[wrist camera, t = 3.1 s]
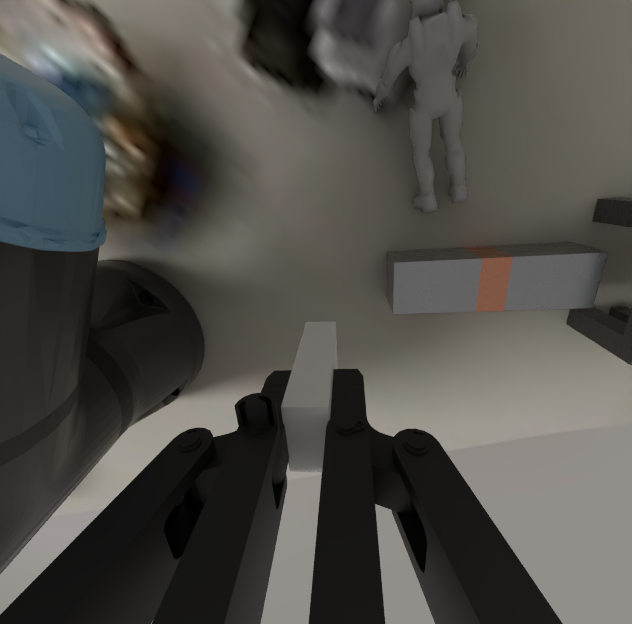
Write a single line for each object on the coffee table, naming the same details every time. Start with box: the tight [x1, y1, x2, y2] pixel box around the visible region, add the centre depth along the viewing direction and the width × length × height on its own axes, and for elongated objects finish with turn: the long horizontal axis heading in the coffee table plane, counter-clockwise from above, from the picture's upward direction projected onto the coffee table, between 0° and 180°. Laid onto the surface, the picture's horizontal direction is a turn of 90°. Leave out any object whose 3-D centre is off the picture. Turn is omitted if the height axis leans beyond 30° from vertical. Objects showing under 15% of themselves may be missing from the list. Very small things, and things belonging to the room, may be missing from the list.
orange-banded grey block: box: [387, 242, 608, 314], centre depth 24 cm, size 14×4×4 cm, turn 94°
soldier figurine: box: [373, 0, 480, 213], centre depth 20 cm, size 6×5×12 cm
